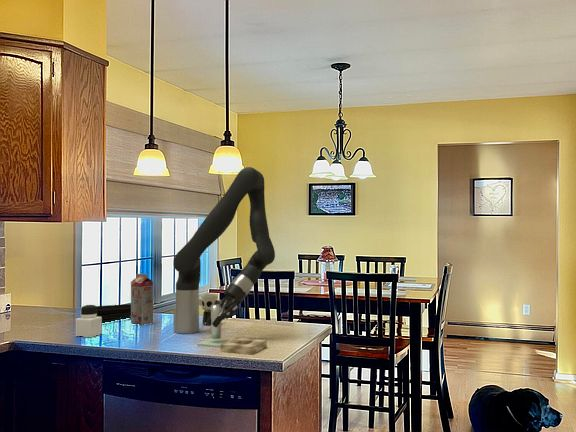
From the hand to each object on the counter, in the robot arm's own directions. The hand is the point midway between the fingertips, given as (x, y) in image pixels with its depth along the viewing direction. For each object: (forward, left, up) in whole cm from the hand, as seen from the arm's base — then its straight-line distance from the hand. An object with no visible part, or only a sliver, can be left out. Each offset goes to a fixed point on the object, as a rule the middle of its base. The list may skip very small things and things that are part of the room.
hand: (211, 324), depth 211 cm
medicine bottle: (-53, -3, -7) cm, 54 cm away
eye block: (+15, -3, -7) cm, 17 cm away
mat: (+1, +2, -7) cm, 7 cm away
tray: (-72, +32, -8) cm, 79 cm away
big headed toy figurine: (-21, +36, -7) cm, 42 cm away
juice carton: (-49, +26, -7) cm, 56 cm away
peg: (+1, +2, -5) cm, 5 cm away
